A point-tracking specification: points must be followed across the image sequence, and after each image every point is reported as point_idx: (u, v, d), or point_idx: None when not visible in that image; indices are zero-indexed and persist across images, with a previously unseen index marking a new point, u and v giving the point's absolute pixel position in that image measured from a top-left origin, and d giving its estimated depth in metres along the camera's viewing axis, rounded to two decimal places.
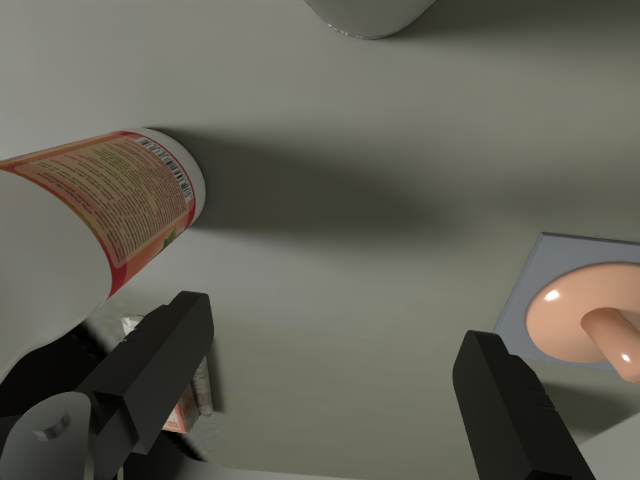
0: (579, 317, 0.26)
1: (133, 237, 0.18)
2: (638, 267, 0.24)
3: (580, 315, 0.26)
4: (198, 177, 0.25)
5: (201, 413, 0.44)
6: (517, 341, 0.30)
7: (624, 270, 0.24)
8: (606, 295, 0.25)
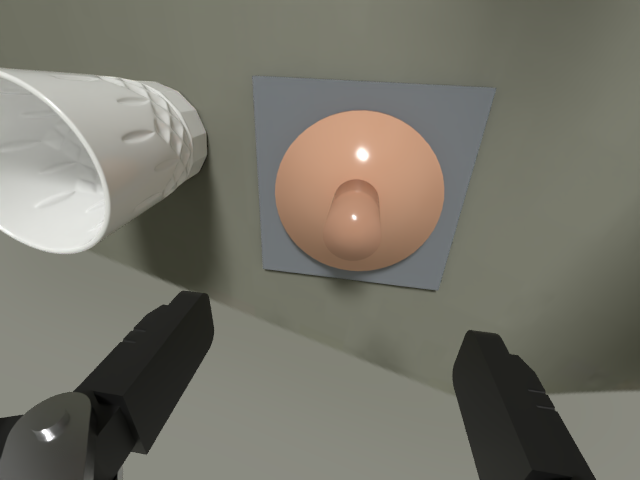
0: (358, 175, 0.19)
1: None
2: (440, 210, 0.20)
3: (362, 175, 0.19)
4: None
5: None
6: (288, 118, 0.19)
7: (439, 197, 0.19)
8: (399, 192, 0.19)
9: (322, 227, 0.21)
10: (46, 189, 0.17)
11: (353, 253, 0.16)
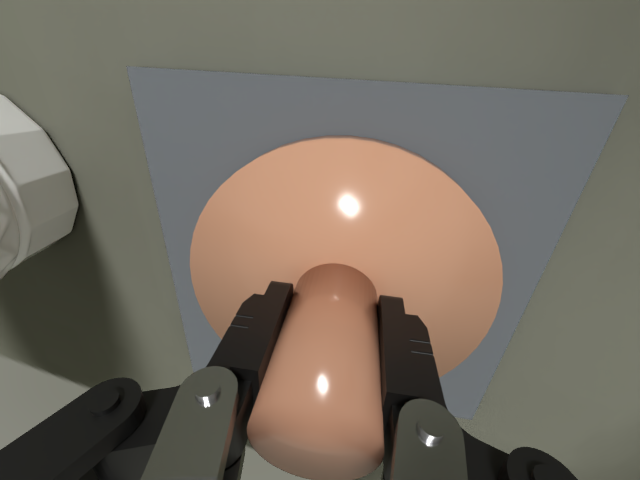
0: (338, 257, 0.10)
1: None
2: (490, 317, 0.11)
3: (345, 258, 0.10)
4: None
5: None
6: (205, 148, 0.10)
7: (492, 299, 0.10)
8: (414, 288, 0.10)
9: None
10: None
11: (319, 470, 0.07)
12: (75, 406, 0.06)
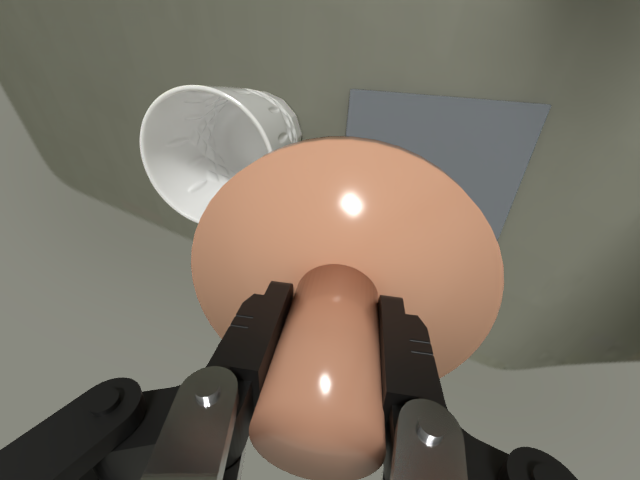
0: (340, 258, 0.10)
1: None
2: (491, 318, 0.11)
3: (346, 258, 0.10)
4: None
5: None
6: (375, 124, 0.23)
7: (492, 300, 0.10)
8: (416, 289, 0.10)
9: None
10: (191, 177, 0.21)
11: (321, 470, 0.07)
12: (75, 406, 0.06)
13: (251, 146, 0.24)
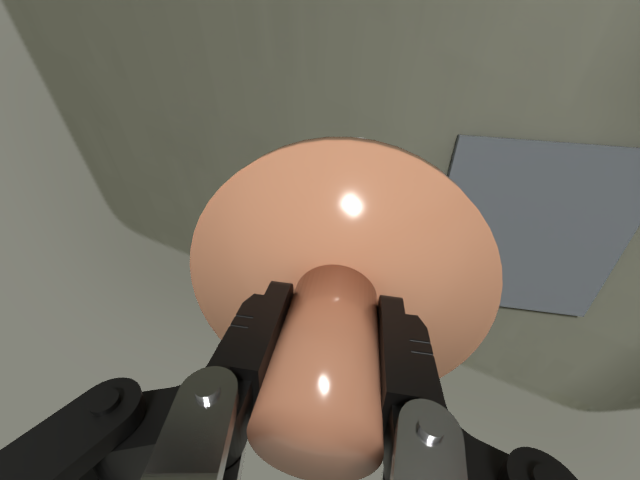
0: (338, 259, 0.10)
1: None
2: (490, 319, 0.11)
3: (345, 259, 0.10)
4: None
5: None
6: (482, 170, 0.22)
7: (491, 300, 0.10)
8: (414, 289, 0.10)
9: None
10: None
11: (319, 471, 0.07)
12: (75, 406, 0.06)
13: None
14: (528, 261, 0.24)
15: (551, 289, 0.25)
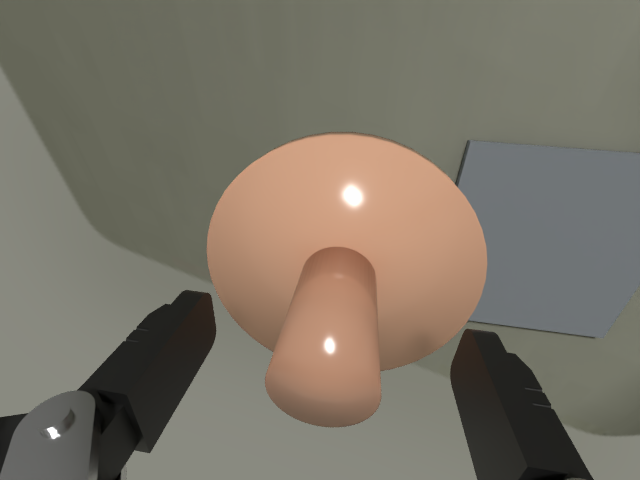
0: (341, 241, 0.11)
1: None
2: (477, 296, 0.12)
3: (347, 241, 0.11)
4: None
5: None
6: (495, 180, 0.20)
7: (478, 277, 0.11)
8: (409, 268, 0.11)
9: (286, 313, 0.13)
10: None
11: (326, 416, 0.08)
12: None
13: None
14: (544, 279, 0.22)
15: (568, 309, 0.23)
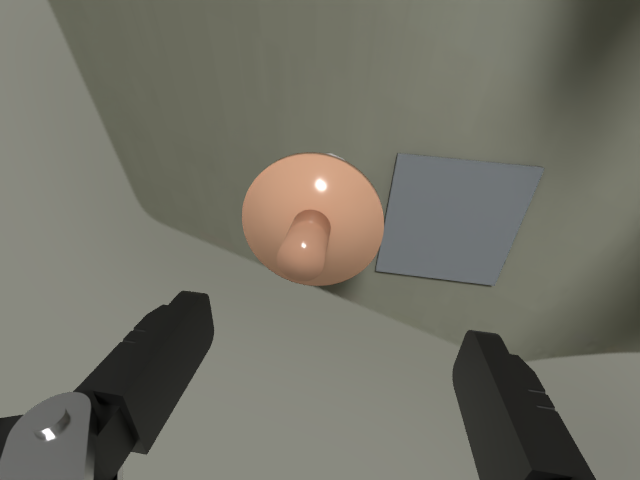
0: (312, 206, 0.22)
1: None
2: (382, 236, 0.23)
3: (315, 206, 0.22)
4: None
5: None
6: (415, 178, 0.31)
7: (380, 225, 0.23)
8: (346, 221, 0.23)
9: None
10: None
11: (302, 275, 0.19)
12: None
13: None
14: (452, 244, 0.34)
15: (470, 265, 0.35)
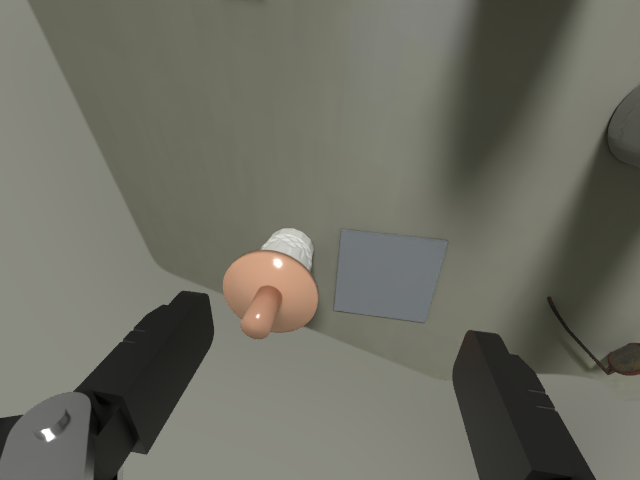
0: (269, 284, 0.33)
1: None
2: (317, 303, 0.34)
3: (271, 284, 0.33)
4: None
5: None
6: (355, 247, 0.42)
7: (314, 297, 0.33)
8: (292, 293, 0.34)
9: None
10: None
11: (257, 335, 0.30)
12: None
13: None
14: (388, 292, 0.44)
15: (404, 307, 0.45)
